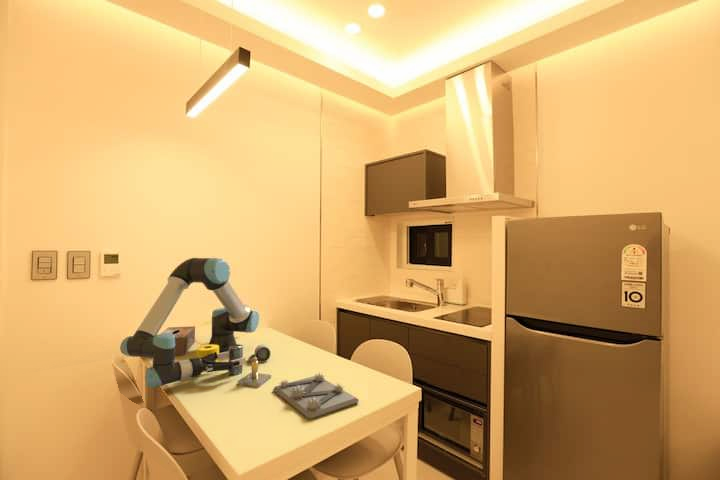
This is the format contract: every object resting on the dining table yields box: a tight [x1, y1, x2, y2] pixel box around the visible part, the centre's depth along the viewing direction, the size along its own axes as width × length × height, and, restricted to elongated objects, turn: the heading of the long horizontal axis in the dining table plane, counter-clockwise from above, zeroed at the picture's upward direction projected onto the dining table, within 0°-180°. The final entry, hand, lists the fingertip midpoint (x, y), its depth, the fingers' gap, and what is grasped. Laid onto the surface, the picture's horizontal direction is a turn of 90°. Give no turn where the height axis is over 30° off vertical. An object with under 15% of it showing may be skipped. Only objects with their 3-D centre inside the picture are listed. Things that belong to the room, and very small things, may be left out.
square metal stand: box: [237, 357, 272, 388], centre depth 144 cm, size 10×10×10 cm
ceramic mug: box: [247, 344, 271, 363], centre depth 172 cm, size 11×8×8 cm
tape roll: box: [195, 344, 220, 372], centre depth 161 cm, size 10×10×9 cm
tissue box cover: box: [160, 325, 196, 357], centre depth 189 cm, size 26×14×10 cm, turn 15°
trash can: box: [227, 343, 244, 376], centre depth 154 cm, size 8×6×12 cm
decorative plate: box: [272, 371, 360, 420], centre depth 130 cm, size 30×22×7 cm
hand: (238, 357), depth 155 cm, fingers open, 13 cm apart
